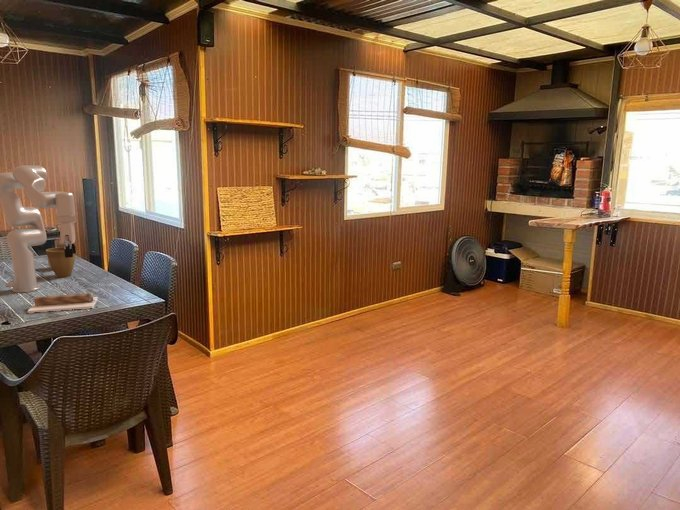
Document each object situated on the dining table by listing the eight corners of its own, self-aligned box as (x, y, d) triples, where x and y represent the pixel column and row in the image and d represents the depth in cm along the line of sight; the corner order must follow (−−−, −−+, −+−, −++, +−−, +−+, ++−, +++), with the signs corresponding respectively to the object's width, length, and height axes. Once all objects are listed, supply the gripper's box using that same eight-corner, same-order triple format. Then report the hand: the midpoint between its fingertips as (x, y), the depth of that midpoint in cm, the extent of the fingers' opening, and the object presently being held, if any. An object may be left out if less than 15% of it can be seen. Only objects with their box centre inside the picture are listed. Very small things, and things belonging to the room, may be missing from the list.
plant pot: (83, 273, 290) (81, 246, 287) (67, 279, 276) (64, 251, 272) (59, 272, 292) (57, 246, 288) (42, 278, 277) (39, 250, 274)
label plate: (27, 313, 217) (27, 310, 217) (37, 303, 232) (36, 300, 232) (92, 308, 225) (92, 305, 225) (97, 299, 240) (97, 296, 240)
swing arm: (93, 299, 234) (93, 292, 233) (92, 301, 231) (92, 294, 230) (36, 303, 226) (35, 296, 226) (35, 305, 223) (34, 298, 223)
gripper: (60, 217, 235) (64, 252, 238) (54, 221, 219) (58, 259, 222) (78, 216, 238) (82, 251, 241) (73, 221, 222) (77, 258, 225)
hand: (70, 255), depth 232 cm, fingers open, 9 cm apart
